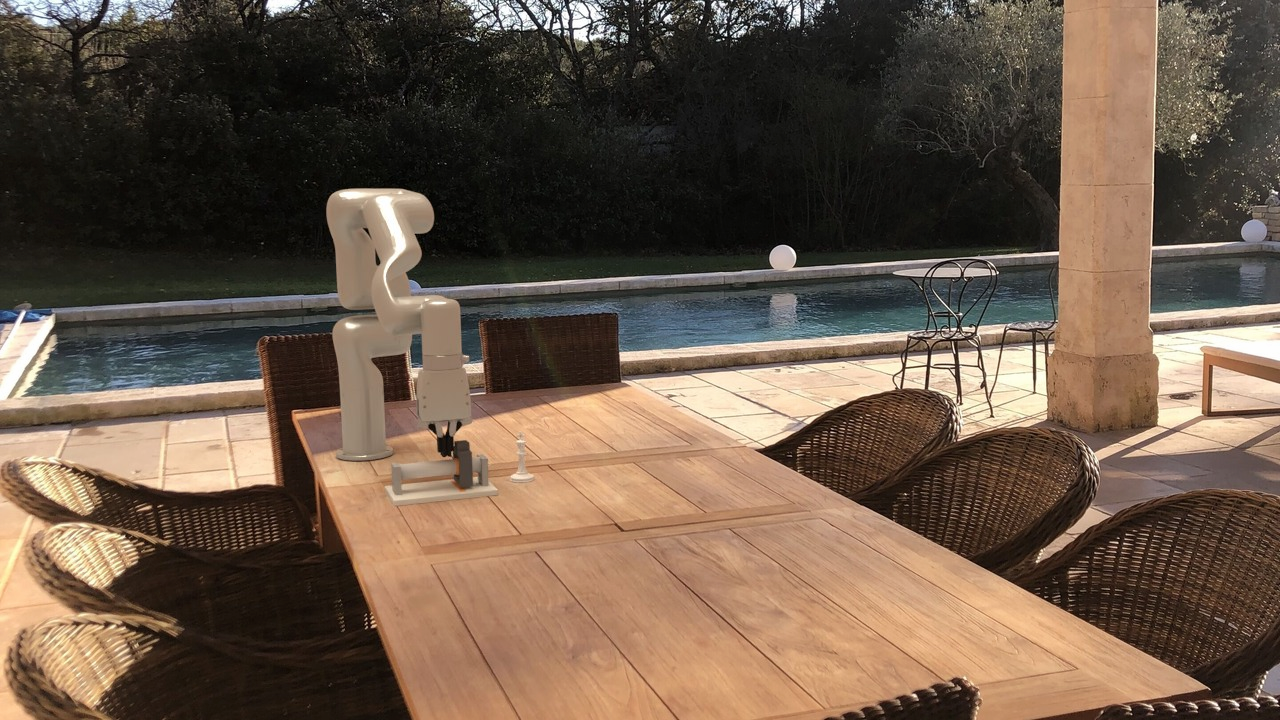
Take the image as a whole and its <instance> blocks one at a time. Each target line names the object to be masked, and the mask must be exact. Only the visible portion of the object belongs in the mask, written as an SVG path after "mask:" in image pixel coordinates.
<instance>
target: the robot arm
mask: <svg viewBox="0 0 1280 720" xmlns="http://www.w3.org/2000/svg"><path fill="white" fill-rule="evenodd" d="M326 221H327V225H328V226H327V227H328V228H329V232H330V235H331V237H332V239H333V245H334V249H335V251H334V252H335V264H336V267H335V268H336V271H335V272H336V285H337V286H336V287H337V295H338V301H339V303H340V305H341V306H342V307H343V308H345V309H347V310H353V311H354V310H356V311H357V310H359V311H360V310H374V311H375V314H364V315H354V316H347V317H343V318H341V319H340V320H338V321H337V322H336V323H335V325H333V328H332V341H333V347H334V352H335V355H336V356H335V357H336V360H337V369H338V378H339V379H338V382H339V383H338V384H339V397H340V398H339V399H340V414H341V415H340V416H341V417H340V419H341V436H342V437H341V439H342V447H340V448H339V449H337V450H336V451H335V457H336V458H337V459H339V460H343V461H351V462H352V461H353V462H354V461H355V462H359V461H360V462H361V461H371V460H372V461H373V460H379V459H384V458H387V457H390V456H392V455H393V453H394V448H393V447H392V446H390V445H387V441H386V440H387V437H386V419H385V418H386V416H385V415H386V414H385V394H384V378H383V374H382V373H381V371H380V370H379V368H378V367H377V366H376V365H375V364H374V363H373V361H372V359H373V358H379V357H390V356H398V355H403V354H405V353H407V352H408V351H409V350H410V348H411V345H412V342H413V335H421V351H422V352H421V353H422V369H419V370H418V373H417V382H416V392H415V393H416V396H415V397H416V398H415V399H416V400H415V401H416V402H415V404H416V405H415V408H416V410H415V411H416V417H417V421H416V426H417V427H418V428H419V429H422V430H423V429H424V430H429V431H431V432H432V433H433V434H434V435H435V436H436V449H437V451H436V452H437V453H439V454H440V456H441V457H442V458H446V457H449V458H450V457H452V453H453V451H454V441H455V439H454V437H455V436H456V434H457V432H458V431H459V430H460V429H461V428H462V427H465V426H468V425H471V424H473V419H472V403H471V402H472V401H471V391H470V385H469V379H468V375H467V371H466V368H465V367H464V364H466V363H470V355H465V354H463V352H462V351H463V350H462V348H463V347H462V329H461V328H462V326H461V324H462V323H461V319H462V318H461V306H460V304H459V301H457V300H456V299H452V298H446V297H445V296H442V295H436V294H432V295H431V294H430V295H412V294H411V293H412V292H411V284H410V280H409V278H408V275H407V272H409V271H411V270H412V269H413V268H415V266H416V265H418V264H419V262H420V261H421V258H422V254H423V253H422V249H421V246H420V244H419V241H418V239H417V237H416V235H415V234H426V233H428V232H429V231H431V229H432V228H433V226H434V222H435V213H434V208H433V206H432V204H431V202H430V201H429V199H428V198H427V197H426V196H425V195H424V194H422V193H419V192H415V191H412V190H407V189H404V188H366V187H365V188H348V189H347V188H346V189H340V190H337V191H335V192H334V193H332V194H331V195H330V196H329V198H328V200H327V203H326ZM365 229H367V230H368V233H369V234H368V233H367V232H366V230H365ZM376 254H377V256H378V258H379V262H380V264H379V265H377V263H376ZM443 422H447V424H446V431H445V432H444V431H443V426H442V424H443Z"/></svg>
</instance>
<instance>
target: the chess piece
mask: <svg viewBox="0 0 1280 720" xmlns="http://www.w3.org/2000/svg"><path fill="white" fill-rule="evenodd" d="M516 437H517V438H519V439H518V440H516V446H517V448H518V451H516V453H515V454H516V455H518V465H517V466H518V467H517V471H516V473H513V474H511V475H510V477H509V478H510V479H509V480H510V481H511V482H513V483H520V484H521V483H530V482H532V481H534V480H535V475H534V474H532V473H529V471H528V470H527V467H526V462H525V455H527V451H526V450H525V447H526V443H527V441H526V440H525V439H523V438H526V434H523V431H519V434H516Z"/></svg>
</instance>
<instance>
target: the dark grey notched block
mask: <svg viewBox="0 0 1280 720" xmlns="http://www.w3.org/2000/svg"><path fill="white" fill-rule="evenodd" d="M470 446H471V445H470V442H469V441H468V440H467V439H463V440H454V451H452V459H454V458H459V475H455V474H454V475H453V479H454V480H455V481H456V483H457V484H458V485H459V486H460V487H469V486H473V477H474V476H473V474H474V473H473V470H472V457H473V452H472V451H471V450H470V449H471V448H470Z"/></svg>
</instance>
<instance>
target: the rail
mask: <svg viewBox="0 0 1280 720" xmlns="http://www.w3.org/2000/svg"><path fill="white" fill-rule="evenodd" d="M390 467H391V469H390V470H391V485H384V492H385V494H386V495H387V497H388V499H389V500H390V502H391V503H392V505H393V506H394V507H399V506H406V505H417V504H426V503H434V502H435V503H436V502H445V501H453V500H464V499H472V498H473V499H474V498H481V497H483V498H484V497H492V496H498V495H499V490H498V488H496V486H494V484H492V482H491V481H489V458H488V457H487V456H486V455H485V454H477V455H476V456H474V457H473V456H472V470H473V474H474V473H477V476H473V486H469V487H460V486H459V485H458V484H457V483H456V481H455V480H454V478H451V479H442V480H434V481H433V480H431V481H423V482H413V483H411V482H410V483H403V484H402V480H410V479H411V480H413V479H423V478H432V477H441V476H443V477H444V476H454V474H455V475H459V458H454V459H453V458H450V459H442V460H430V461H419V462H409V463H408V462H407V463H398V461H395V462H391V463H390Z"/></svg>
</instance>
